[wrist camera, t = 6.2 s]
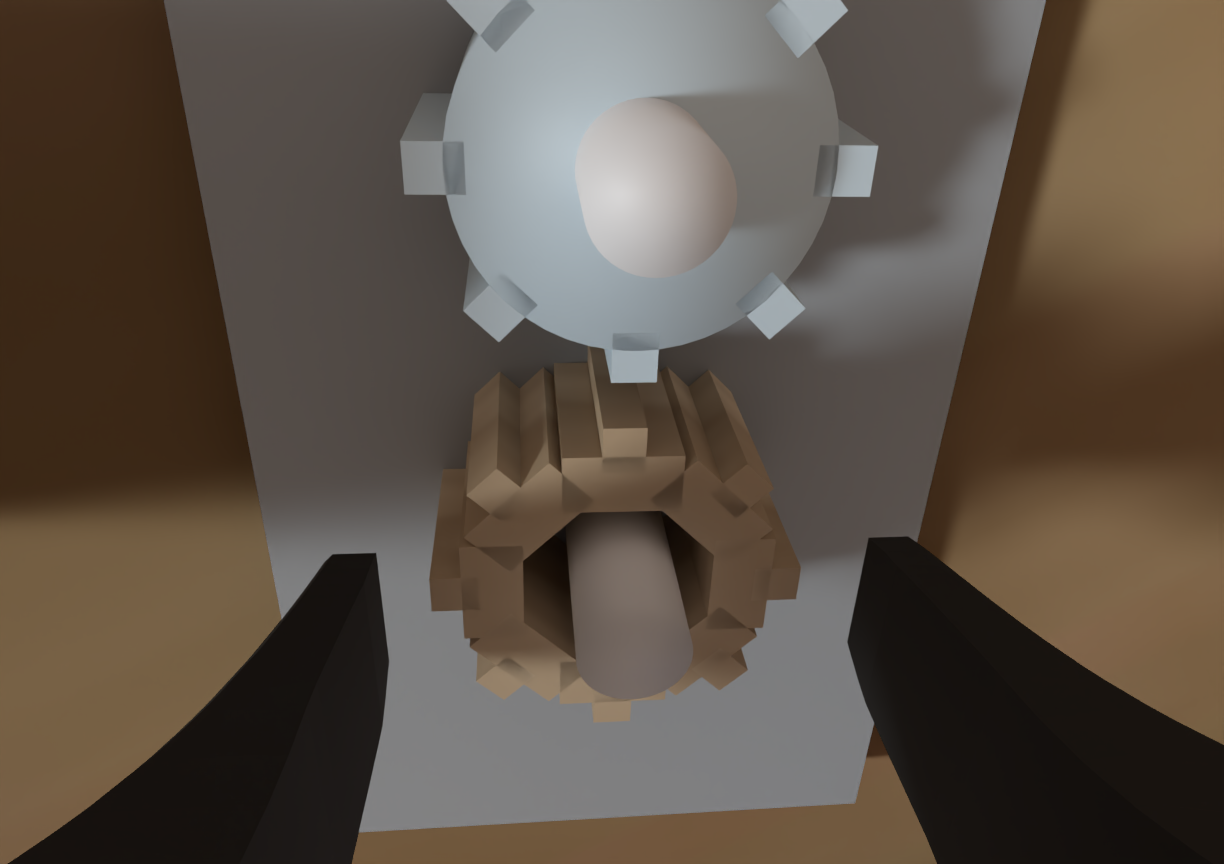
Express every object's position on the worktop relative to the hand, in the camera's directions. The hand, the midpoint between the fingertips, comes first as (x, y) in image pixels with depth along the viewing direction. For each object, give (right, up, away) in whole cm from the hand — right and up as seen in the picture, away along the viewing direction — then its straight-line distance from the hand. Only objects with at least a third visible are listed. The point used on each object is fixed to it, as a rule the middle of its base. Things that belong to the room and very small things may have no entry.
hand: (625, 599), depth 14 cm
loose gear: (0, +2, +3) cm, 3 cm away
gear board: (0, +4, +3) cm, 5 cm away
